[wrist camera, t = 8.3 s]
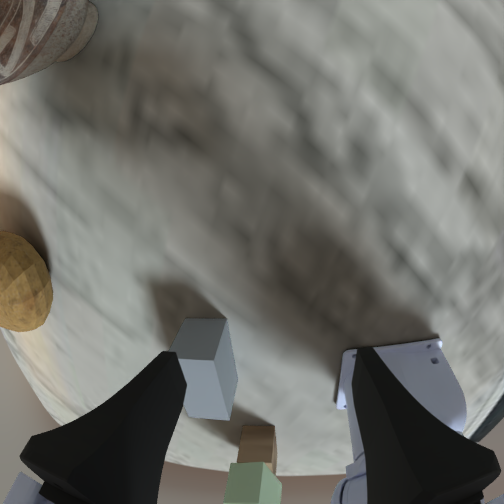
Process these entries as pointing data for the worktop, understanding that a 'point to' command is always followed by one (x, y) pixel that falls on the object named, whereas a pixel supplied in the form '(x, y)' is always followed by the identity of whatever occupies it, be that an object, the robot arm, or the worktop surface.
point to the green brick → (252, 484)
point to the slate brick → (207, 367)
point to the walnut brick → (258, 446)
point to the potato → (22, 285)
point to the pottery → (42, 34)
